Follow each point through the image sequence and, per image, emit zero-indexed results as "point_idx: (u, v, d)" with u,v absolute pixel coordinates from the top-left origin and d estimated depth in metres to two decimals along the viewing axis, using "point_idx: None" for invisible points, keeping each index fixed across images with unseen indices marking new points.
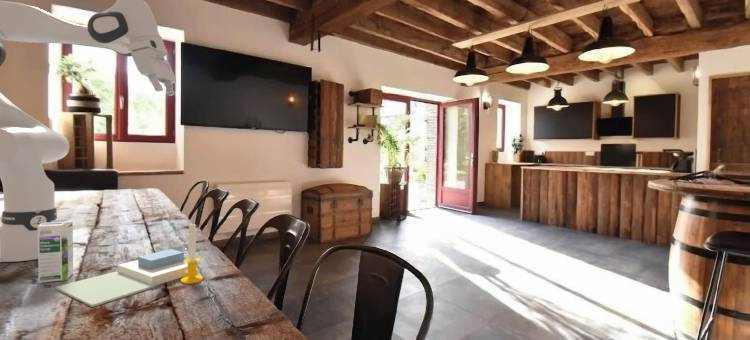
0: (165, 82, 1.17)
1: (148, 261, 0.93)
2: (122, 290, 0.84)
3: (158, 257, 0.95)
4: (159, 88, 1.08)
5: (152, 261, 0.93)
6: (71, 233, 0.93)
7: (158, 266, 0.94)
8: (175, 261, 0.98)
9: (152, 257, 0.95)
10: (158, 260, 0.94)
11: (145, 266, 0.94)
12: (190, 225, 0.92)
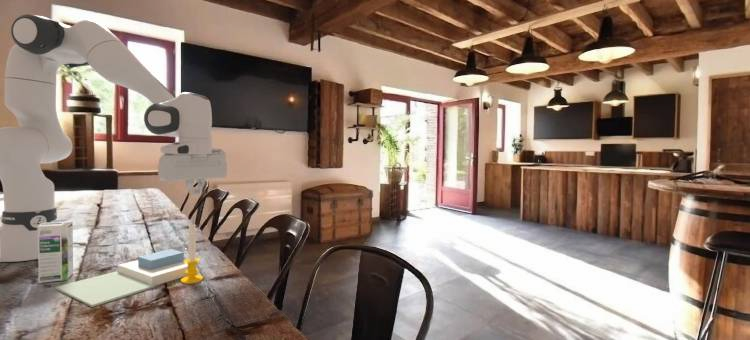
0: None
1: (148, 261, 0.93)
2: (122, 290, 0.84)
3: (158, 257, 0.95)
4: (191, 193, 1.04)
5: (152, 261, 0.93)
6: (71, 233, 0.93)
7: (158, 266, 0.94)
8: (175, 261, 0.98)
9: (152, 257, 0.95)
10: (158, 260, 0.94)
11: (145, 266, 0.94)
12: (190, 225, 0.92)
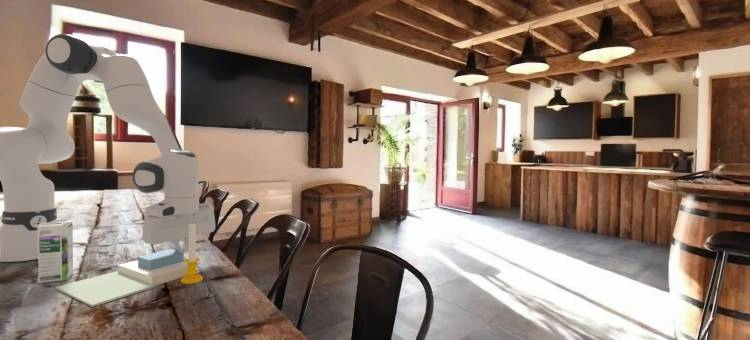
0: None
1: (148, 261, 0.93)
2: (122, 290, 0.84)
3: (158, 257, 0.95)
4: None
5: (152, 261, 0.93)
6: (71, 233, 0.93)
7: (158, 266, 0.94)
8: (175, 261, 0.98)
9: (152, 257, 0.95)
10: (158, 260, 0.94)
11: (144, 266, 0.94)
12: (190, 225, 0.92)
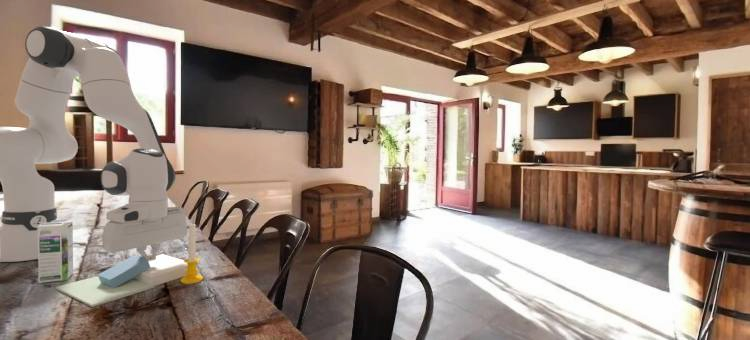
0: None
1: (108, 280, 0.85)
2: (122, 290, 0.84)
3: (119, 272, 0.87)
4: None
5: (112, 279, 0.84)
6: (71, 233, 0.93)
7: (121, 282, 0.86)
8: (140, 270, 0.90)
9: (112, 273, 0.87)
10: (119, 276, 0.86)
11: (107, 284, 0.86)
12: (190, 225, 0.92)
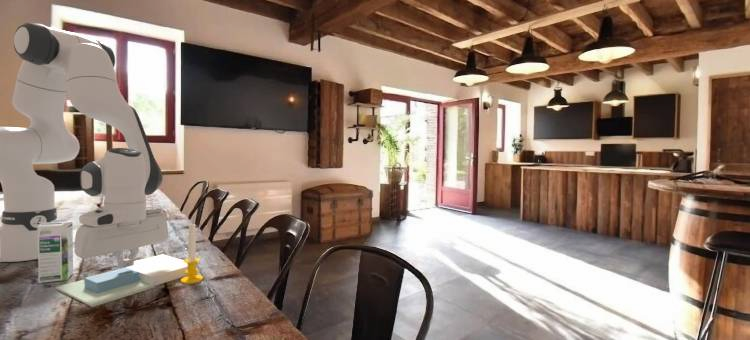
0: None
1: (94, 283, 0.82)
2: (122, 290, 0.84)
3: (107, 278, 0.84)
4: (120, 266, 0.88)
5: (99, 283, 0.82)
6: (71, 233, 0.93)
7: (106, 289, 0.83)
8: (128, 282, 0.87)
9: (100, 278, 0.84)
10: (106, 282, 0.83)
11: (91, 288, 0.83)
12: (190, 225, 0.92)
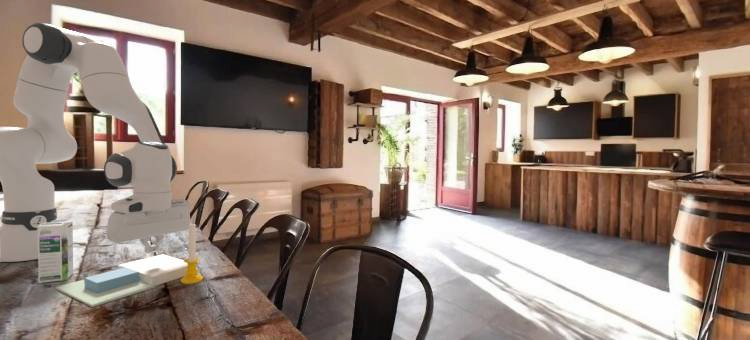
0: None
1: (94, 283, 0.82)
2: (122, 290, 0.84)
3: (107, 278, 0.84)
4: (147, 251, 0.94)
5: (99, 283, 0.82)
6: (71, 233, 0.93)
7: (106, 289, 0.83)
8: (128, 282, 0.87)
9: (100, 278, 0.84)
10: (106, 282, 0.83)
11: (91, 288, 0.83)
12: (190, 225, 0.92)
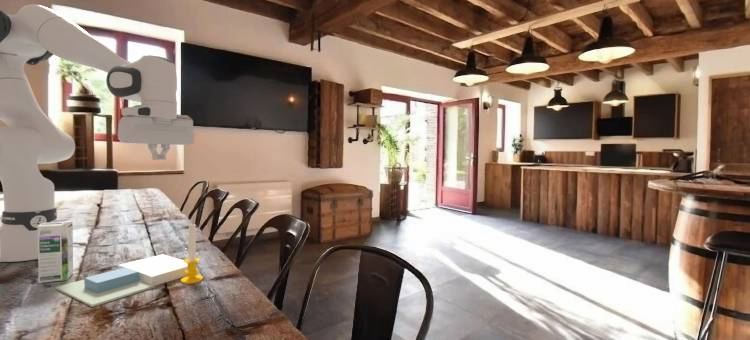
0: None
1: (94, 283, 0.82)
2: (122, 290, 0.84)
3: (107, 278, 0.84)
4: (155, 158, 1.02)
5: (99, 283, 0.82)
6: (71, 233, 0.93)
7: (106, 289, 0.83)
8: (128, 282, 0.87)
9: (100, 278, 0.84)
10: (106, 282, 0.83)
11: (91, 288, 0.83)
12: (190, 225, 0.92)
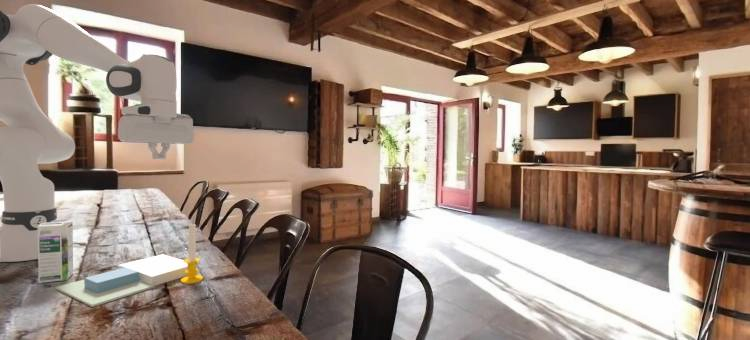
0: None
1: (94, 283, 0.82)
2: (122, 290, 0.84)
3: (107, 278, 0.84)
4: (155, 157, 1.02)
5: (99, 283, 0.82)
6: (71, 233, 0.93)
7: (106, 289, 0.83)
8: (128, 282, 0.87)
9: (100, 278, 0.84)
10: (106, 282, 0.83)
11: (91, 288, 0.83)
12: (190, 225, 0.92)
